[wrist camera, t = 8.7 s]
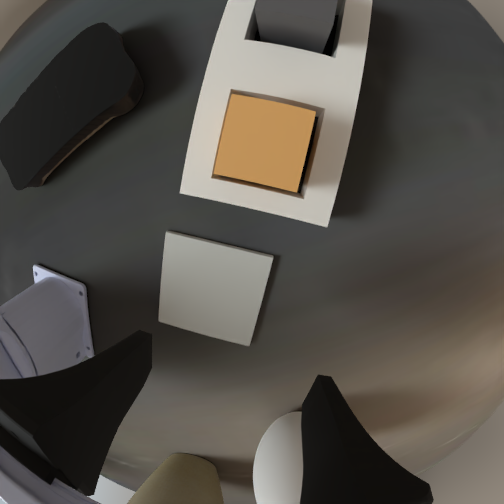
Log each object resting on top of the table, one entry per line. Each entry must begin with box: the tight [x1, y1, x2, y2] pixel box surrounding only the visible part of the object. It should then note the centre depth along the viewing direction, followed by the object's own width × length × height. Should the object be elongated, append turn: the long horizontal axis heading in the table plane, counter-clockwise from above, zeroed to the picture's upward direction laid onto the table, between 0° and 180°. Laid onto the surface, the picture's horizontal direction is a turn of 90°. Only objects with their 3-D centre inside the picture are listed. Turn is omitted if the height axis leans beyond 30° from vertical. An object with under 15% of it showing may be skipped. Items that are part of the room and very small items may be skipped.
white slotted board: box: [180, 0, 372, 227], centre depth 14 cm, size 23×9×3 cm, turn 168°
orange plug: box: [214, 94, 316, 193], centre depth 15 cm, size 4×4×6 cm
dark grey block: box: [255, 0, 338, 54], centre depth 12 cm, size 4×4×6 cm
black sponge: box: [0, 23, 144, 190], centre depth 16 cm, size 16×8×4 cm, turn 114°
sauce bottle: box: [253, 412, 303, 504], centre depth 17 cm, size 8×8×18 cm
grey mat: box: [159, 230, 273, 346], centre depth 21 cm, size 8×8×1 cm
